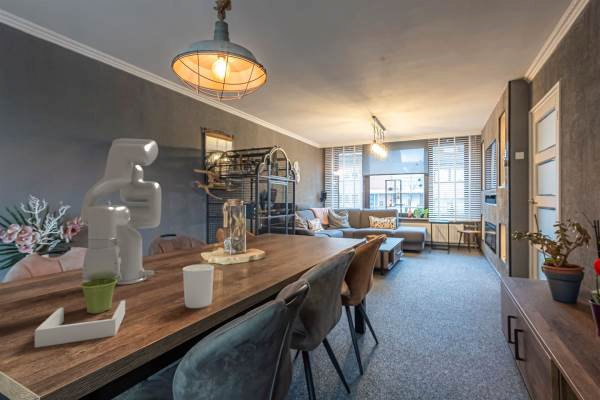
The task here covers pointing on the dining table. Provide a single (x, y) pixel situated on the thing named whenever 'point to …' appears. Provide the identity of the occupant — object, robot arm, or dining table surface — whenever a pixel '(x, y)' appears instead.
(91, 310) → the plant pot
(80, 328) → the box
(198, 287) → the candle holder
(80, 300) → the dining table surface
